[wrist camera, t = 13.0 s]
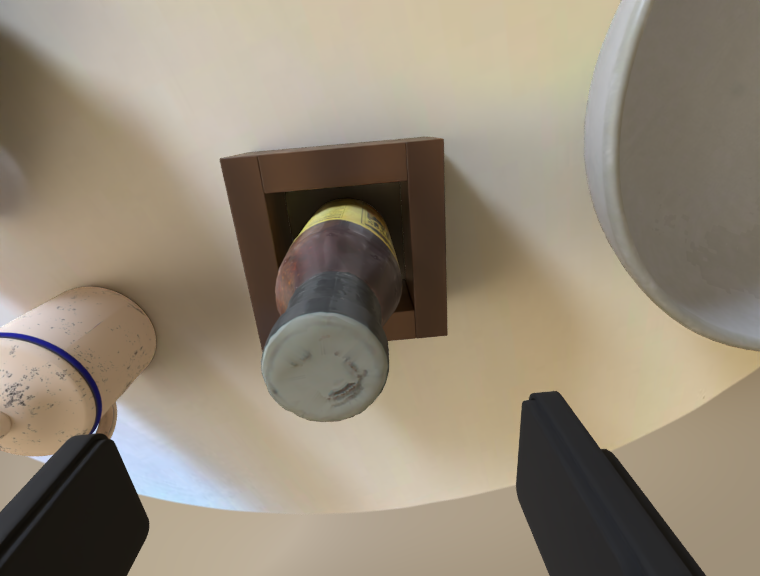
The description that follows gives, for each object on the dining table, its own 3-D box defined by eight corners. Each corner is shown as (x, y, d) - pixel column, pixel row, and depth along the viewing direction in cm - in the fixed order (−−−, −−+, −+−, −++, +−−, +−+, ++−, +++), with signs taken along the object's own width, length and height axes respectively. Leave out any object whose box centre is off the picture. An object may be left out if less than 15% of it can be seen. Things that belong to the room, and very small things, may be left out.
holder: (427, 136, 28) (443, 138, 23) (432, 301, 33) (447, 335, 28) (246, 152, 28) (218, 158, 23) (278, 315, 33) (262, 353, 28)
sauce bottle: (391, 268, 32) (433, 455, 14) (314, 276, 32) (252, 474, 14) (384, 185, 30) (423, 278, 11) (300, 194, 30) (203, 301, 11)
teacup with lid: (25, 288, 31) (-151, 373, 20) (140, 275, 31) (25, 353, 21) (84, 411, 36) (-35, 533, 25) (184, 399, 36) (109, 516, 25)
